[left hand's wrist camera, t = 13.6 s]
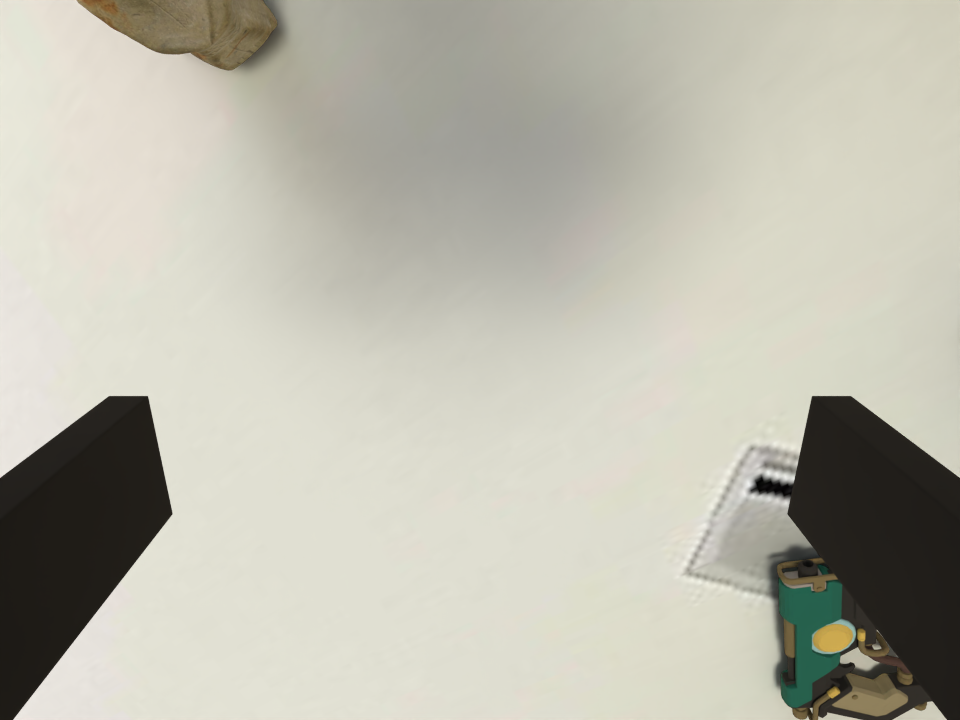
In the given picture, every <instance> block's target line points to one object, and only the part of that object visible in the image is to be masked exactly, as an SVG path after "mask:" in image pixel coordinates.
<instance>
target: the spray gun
mask: <svg viewBox="0 0 960 720" xmlns="http://www.w3.org/2000/svg"><path fill="white" fill-rule="evenodd" d="M821 563H825V562H824V560H823V559H822V558H814V559H805V560H798V561H790V562H783V563H780V564H779V565H778V566H777V573H778V575H779V580H778V582H779V612H780V614H781V616H782V617H783V618H784V649H785V654H786V655H787V656H788V669H787V670H785V671H783V672H782V673H781V695H782V698H783V700H784V701H785V703H786V704H787V705H788V706H789V707H791V708H792V709H793V715H794V716H795V717H796V718H798V719H806V718H807V715H808V717H809V719H810V720H818V716H819V717H822V718H823V717H825V716H826V715H827V712H828V713H833V714H838V715H843V716H847V717H852V718H857V719H862V720H893V719H894V718H896V717H898V716H900V715H901V714H903V713H905V712H907V711H909V710H910V709H912V708H915V709H917V710H925V709H926V705H927V702H929V701H932V700H931V698H930V697H929V696H928V695H927V693H926V692H925V691H924V689H923V688H922V687H921V686H920V684H919V683H918V682H917V680H916V679H915V678H914V677H913V675H912V674H911V673H910V671H909V670H908V669H907V668H906V666H905V665H904V664H903V662H902V661H901V660H900V658H898V657H893V656H888V655H886V654H888V652H889V647H888V645H887V643H886V641H885V640H884V638H883V637H882V636H881V635H880V634H879V632H877V629H876V628H875V626H874V625H873V624H872V622H871V621H870V620H869V619H868V617H867V616H866V615H865V613H864V612H863V611H862V609H861V608H860V607H859V606H858V604H857V603H856V602H855V600H854V599H853V598H852V597H851V595H850V594H849V593H848V591H847V590H846V589H845V588H844V586H843V585H842V584H841V582H840V581H839V580H838V579H837V577H836V576H835V575H834V573H833V572H832V571H831V570H830V569H828V568H827V567H825V566H823V565H818V566H817V565H816V564H821ZM791 567H798V571H792V572H785V573H783V572H782V569H784V568H791ZM876 640H877V641H878V642H879V644H880V646H881V647H882V648H881V649H878V650H874V649H873V647H872V644H875V643H876ZM857 647H858V648H859V650H860V651H861V652H862V653H863V654H865V655H867V656H869V657H870V658H872V659H873V660H875V661H878V662H880V663H883V664H887V665H892V666H897V673H889V674H886V673H885V674H881V675H879V676H878V677H877V678H875V679H873V680H872V679H869V678H865V677H862V676H858V675H855V674H852V673H849V672H851V671H852V670H853V669H854V668H855V665H854V663H851V662H850V663H848V664H840V656H841V655H843V654H845V653H847V652H849V651H851V650H853V649H855V648H857ZM810 708H813V714H812V712H811V710H810Z"/></svg>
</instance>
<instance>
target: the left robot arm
mask: <svg viewBox="0 0 960 720" xmlns="http://www.w3.org/2000/svg"><path fill="white" fill-rule="evenodd" d="M171 515H172V509H171V504H170V499H169V495H168V490H167V485H166V480H165V476H164V471H163V466H162V461H161V456H160V452H159V447H158V442H157V437H156V433H155V428H154V423H153V418H152V413H151V409H150V404H149V399H148V396H109V397H107V398H106V399H105V400H103V401H102V402H101V403H99V404H98V405H97V406H95V407H94V408H93V409H91V410H90V411H89V412H87V413H86V414H85V415H83V416H82V417H81V418H79V419H78V420H77V421H75V422H74V423H73V424H71V425H70V426H69V427H67V428H66V429H65V430H63V431H62V432H61V433H59V434H58V435H57V436H55V437H54V438H53V439H52V440H50V441H49V442H48V443H46V444H45V445H44V446H42V447H41V448H40V449H38V450H37V451H36V452H34V453H33V454H32V455H30V456H29V457H28V458H26V459H25V460H24V461H22V462H21V463H20V464H18V465H17V466H16V467H14V468H13V469H12V470H10V471H9V472H8V473H6V474H5V475H4V476H2V477H1V478H0V720H13V719H14V718H15V717H16V715H17V714H18V713H19V711H20V710H21V709H22V707H23V706H24V705H25V704H26V702H27V701H28V700H29V698H30V697H31V696H32V695H33V693H34V692H35V691H36V689H37V688H38V687H39V686H40V684H41V683H42V682H43V680H44V679H45V678H46V677H47V675H48V674H49V673H50V671H51V670H52V669H53V668H54V666H55V665H56V664H57V662H58V661H59V660H60V658H61V657H62V656H63V655H64V653H65V652H66V651H67V649H68V648H69V647H70V646H71V644H72V643H73V642H74V640H75V639H76V638H77V637H78V635H79V634H80V633H81V631H82V630H83V629H84V628H85V626H86V625H87V624H88V622H89V621H90V620H91V619H92V617H93V616H94V615H95V613H96V612H97V611H98V609H99V608H100V607H101V606H102V604H103V603H104V602H105V600H106V599H107V598H108V597H109V595H110V594H111V593H112V591H113V590H114V589H115V588H116V586H117V585H118V584H119V582H120V581H121V580H122V579H123V577H124V576H125V575H126V573H127V572H128V571H129V570H130V568H131V567H132V566H133V564H134V563H135V562H136V560H137V559H138V558H139V557H140V555H141V554H142V553H143V551H144V550H145V549H146V548H147V546H148V545H149V544H150V542H151V541H152V540H153V539H154V537H155V536H156V535H157V533H158V532H159V531H160V530H161V528H162V527H163V526H164V524H165V523H166V522H167V521H168V519H169V518H170V517H171ZM788 515H789V517H790V518H791V519H792V521H793V522H794V523H795V524H796V526H797V527H798V528H799V530H800V531H801V532H802V533H803V535H804V536H805V537H806V539H807V540H808V541H809V542H810V544H811V545H812V546H813V548H814V549H815V550H816V551H817V553H818V554H819V555H820V557H821V558H822V559H823V560H824V562H825V563H826V564H827V566H828V567H829V568H830V570H831V571H832V572H833V573H834V575H835V576H836V577H837V579H838V580H839V581H840V582H841V584H842V585H843V586H844V588H845V589H846V590H847V591H848V593H849V594H850V595H851V597H852V598H853V599H854V600H855V602H856V603H857V604H858V606H859V607H860V608H861V609H862V611H863V612H864V613H865V615H866V616H867V617H868V619H869V620H870V621H871V622H872V624H873V625H874V626H875V628H876V629H877V630H878V631H879V633H880V634H881V635H882V637H883V638H884V639H885V640H886V642H887V643H888V644H889V646H890V647H891V648H892V649H893V651H894V652H895V653H896V655H897V656H898V657H899V658H900V660H901V661H902V662H903V664H904V665H905V666H906V668H907V669H908V670H909V671H910V673H911V674H912V675H913V677H914V678H915V679H916V680H917V682H918V683H919V684H920V686H921V687H922V688H923V689H924V691H925V692H926V693H927V695H928V696H929V697H930V698H931V700H932V701H933V702H934V704H935V705H936V706H937V707H938V709H939V710H940V711H941V713H942V714H943V715H944V717H945V718H946V719H947V720H960V478H959V477H958V476H956V475H955V474H954V473H952V472H951V471H950V470H948V469H947V468H946V467H944V466H943V465H942V464H940V463H939V462H938V461H936V460H935V459H934V458H932V457H931V456H930V455H928V454H927V453H926V452H924V451H923V450H922V449H920V448H919V447H918V446H916V445H915V444H914V443H912V442H911V441H910V440H908V439H907V438H906V437H905V436H903V435H902V434H901V433H899V432H898V431H897V430H895V429H894V428H893V427H891V426H890V425H889V424H887V423H886V422H885V421H883V420H882V419H881V418H879V417H878V416H877V415H875V414H874V413H873V412H871V411H870V410H869V409H867V408H866V407H865V406H863V405H862V404H861V403H859V402H858V401H857V400H855V399H854V398H853V397H851V396H812V399H811V404H810V409H809V413H808V418H807V423H806V428H805V433H804V437H803V442H802V447H801V452H800V456H799V461H798V466H797V471H796V476H795V480H794V485H793V490H792V495H791V499H790V504H789V509H788Z"/></svg>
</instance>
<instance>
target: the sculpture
mask: <svg viewBox="0 0 960 720" xmlns="http://www.w3.org/2000/svg"><path fill="white" fill-rule="evenodd" d="M77 1H78V3H79V4H81V5H82V6H83V7H85V8H86V9H87V10H88V11H90V12H91V13H92V14H93V15H95V16H96V17H98V18H99V19H101V20H102V21H103V22H105V23H106V24H107V25H109V26H110V27H111V28H113V29H115V30H117V31H119V32H121V33H123V34H125V35H127V36H128V37H130V38H131V39H133V40H135V41H137V42H139V43H140V44H142V45H144V46H145V47H147V48H149V49H151V50H153V51H155V52H159V53H162V54H185V53H191V54H193V55H194V56H196V57H197V58H199V59H201V60H203V61H204V62H207V63H209V64H211V65H213V66H215V67H218V68H221V69H225V70H233V69H235V68H236V67H238V66H239V65H241V64H242V63H243V62H245V61H246V60H247V59H248V58H249V57H250V56H251V55H253V54H254V53H255V52H256V51H257V50H258V49H259V48H260V47H261V46H262V45H263V43H264V42H265V41H266V40H267V38H268V37H269V35H270V34H271V32H272V31H273V30H274V29H275V28H276V26H277V20H276V19H275V17H274V16H273V14H272V12H271V11H270V9H269V8H267V6H266V5H265V3H264V2H263V0H77Z"/></svg>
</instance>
